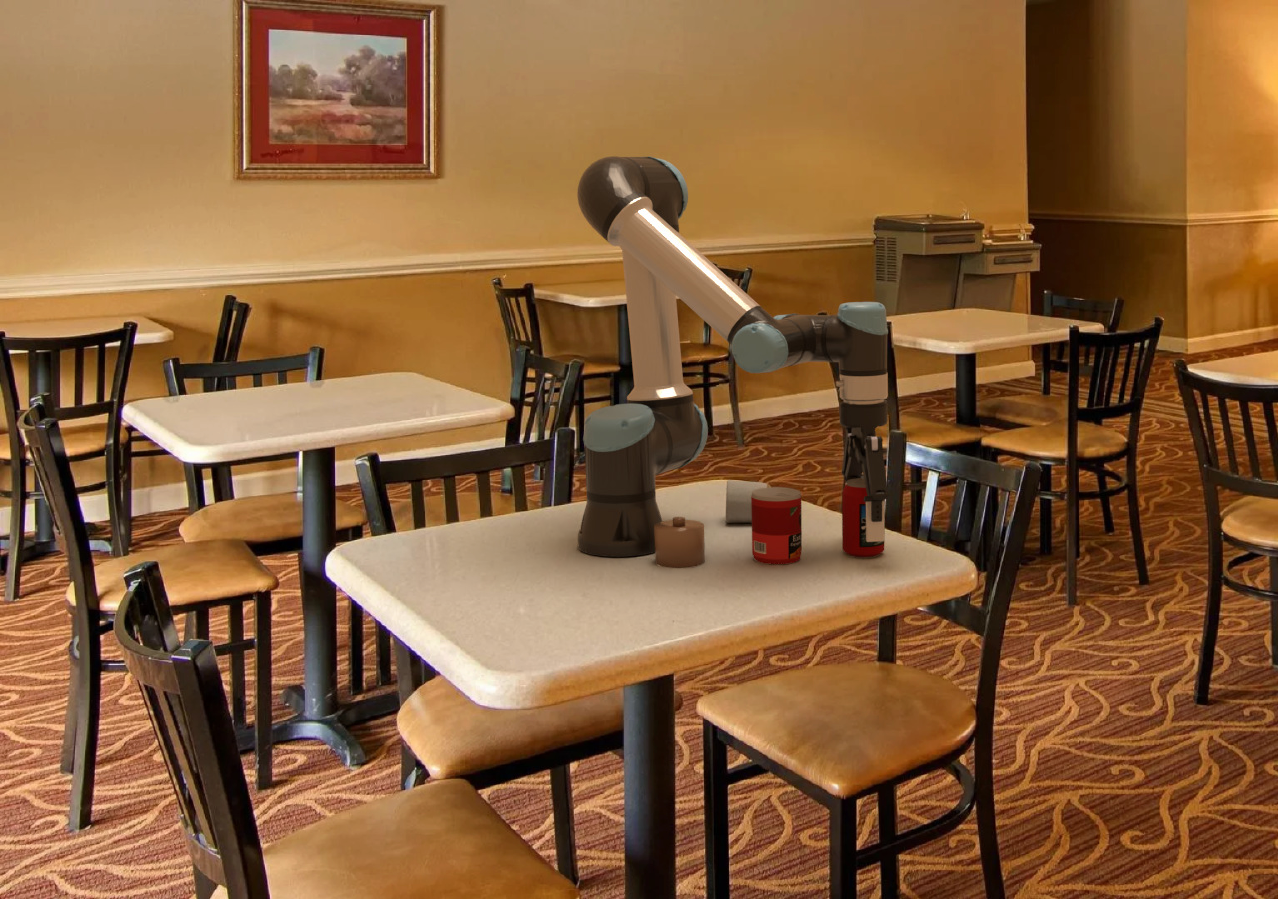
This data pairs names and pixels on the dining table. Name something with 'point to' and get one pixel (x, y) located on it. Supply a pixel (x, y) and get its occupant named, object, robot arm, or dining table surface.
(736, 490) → the ceramic mug
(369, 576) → the dining table surface
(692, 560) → the sugar bowl
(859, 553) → the beverage can
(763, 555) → the canned food
